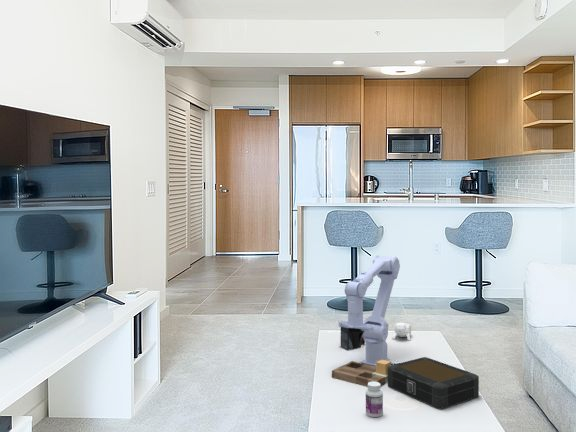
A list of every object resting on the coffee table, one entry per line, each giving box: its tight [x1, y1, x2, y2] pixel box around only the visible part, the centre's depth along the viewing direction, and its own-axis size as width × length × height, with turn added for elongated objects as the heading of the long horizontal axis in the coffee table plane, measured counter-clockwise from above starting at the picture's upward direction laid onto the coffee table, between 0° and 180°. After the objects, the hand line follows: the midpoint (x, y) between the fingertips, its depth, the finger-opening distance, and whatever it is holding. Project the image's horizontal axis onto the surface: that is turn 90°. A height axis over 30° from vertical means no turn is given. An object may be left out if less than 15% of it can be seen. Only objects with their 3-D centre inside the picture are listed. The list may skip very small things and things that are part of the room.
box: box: [340, 327, 362, 351], centre depth 231 cm, size 8×6×11 cm
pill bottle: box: [365, 382, 384, 418], centre depth 162 cm, size 5×5×10 cm
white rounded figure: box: [391, 322, 412, 341], centre depth 245 cm, size 9×8×15 cm
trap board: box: [331, 360, 388, 388], centre depth 194 cm, size 14×19×2 cm
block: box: [375, 360, 392, 375], centre depth 192 cm, size 4×4×4 cm
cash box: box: [387, 356, 480, 410], centre depth 179 cm, size 25×20×8 cm
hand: (355, 347), depth 200 cm, fingers closed
